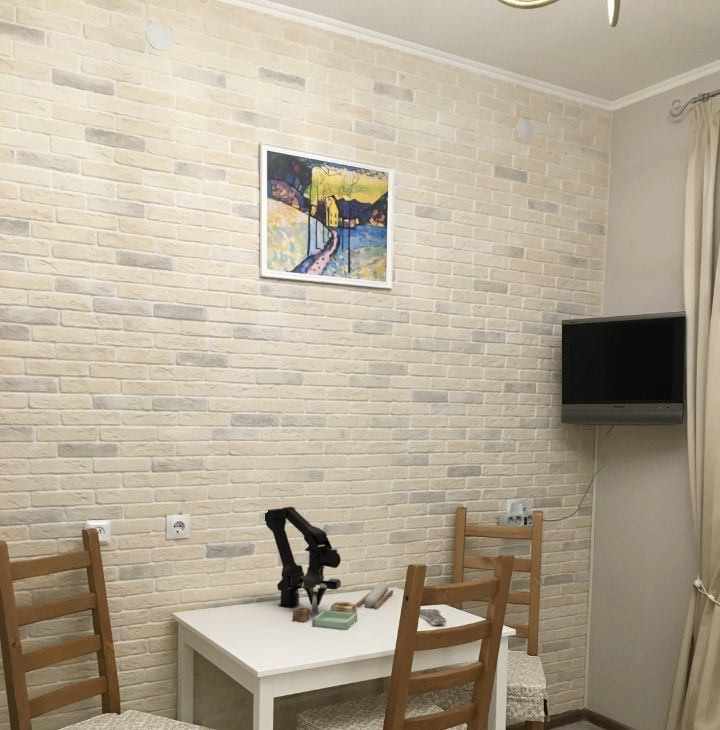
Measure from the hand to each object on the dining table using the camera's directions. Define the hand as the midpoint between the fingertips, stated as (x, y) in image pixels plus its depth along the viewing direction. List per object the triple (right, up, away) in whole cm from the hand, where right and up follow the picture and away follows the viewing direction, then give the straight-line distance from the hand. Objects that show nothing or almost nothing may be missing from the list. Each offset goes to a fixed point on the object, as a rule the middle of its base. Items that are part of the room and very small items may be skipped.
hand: (315, 604), depth 301 cm
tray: (+8, -2, -15) cm, 17 cm away
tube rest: (+24, -4, +20) cm, 31 cm away
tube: (+24, -5, +20) cm, 31 cm away
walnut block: (-4, -2, -11) cm, 12 cm away
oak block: (+11, -3, -1) cm, 12 cm away
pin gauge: (0, -3, 0) cm, 3 cm away
